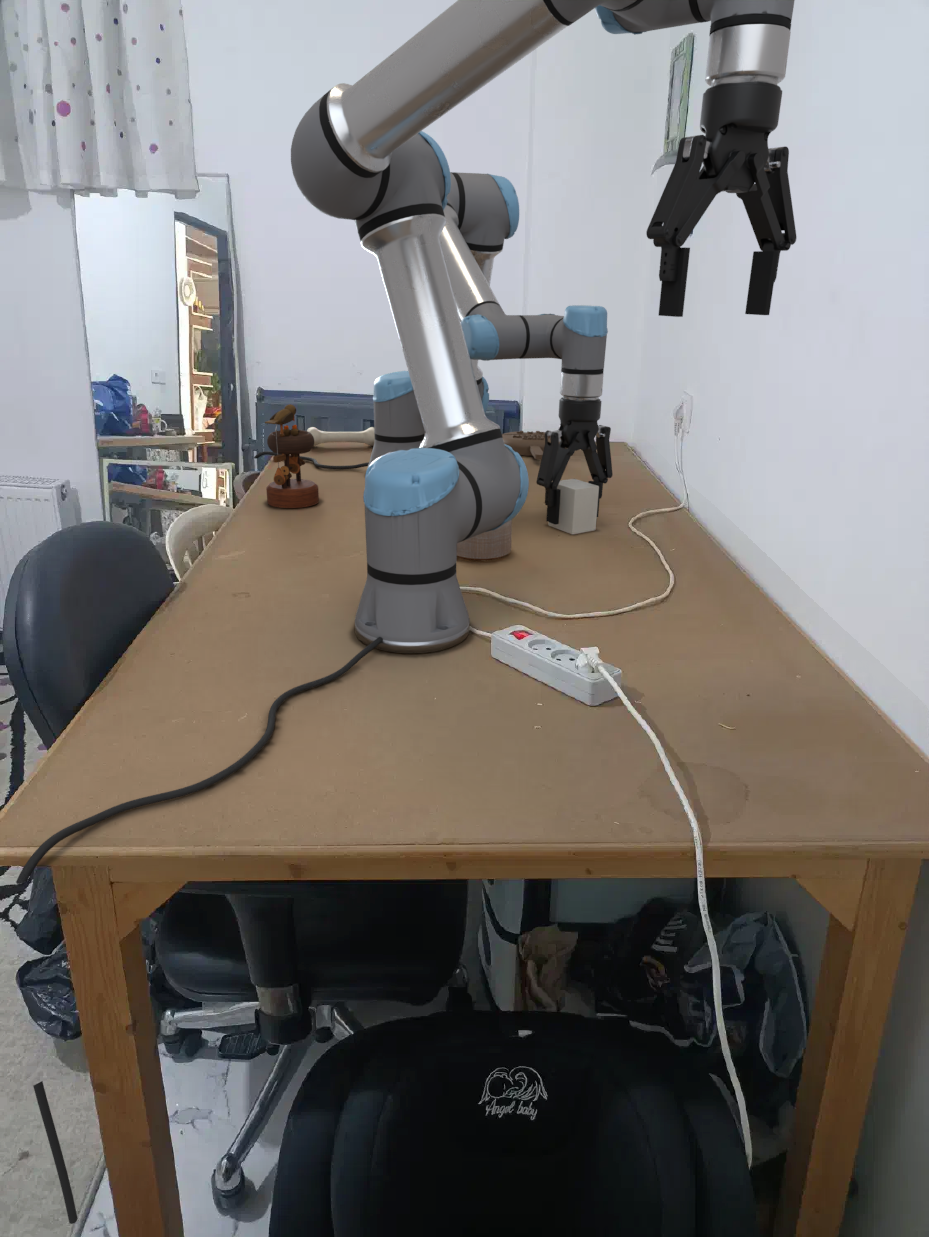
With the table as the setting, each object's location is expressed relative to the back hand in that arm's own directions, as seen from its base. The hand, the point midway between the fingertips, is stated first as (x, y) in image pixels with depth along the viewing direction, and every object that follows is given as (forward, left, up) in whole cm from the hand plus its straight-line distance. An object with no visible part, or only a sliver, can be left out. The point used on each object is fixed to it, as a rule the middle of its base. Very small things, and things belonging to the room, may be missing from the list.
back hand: (572, 519), depth 160 cm
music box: (-48, -32, -2) cm, 58 cm away
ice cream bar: (-54, +43, -2) cm, 69 cm away
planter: (+1, -24, -2) cm, 25 cm away
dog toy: (-93, +9, -2) cm, 93 cm away
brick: (0, 0, -2) cm, 2 cm away
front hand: (+48, -33, +39) cm, 70 cm away
